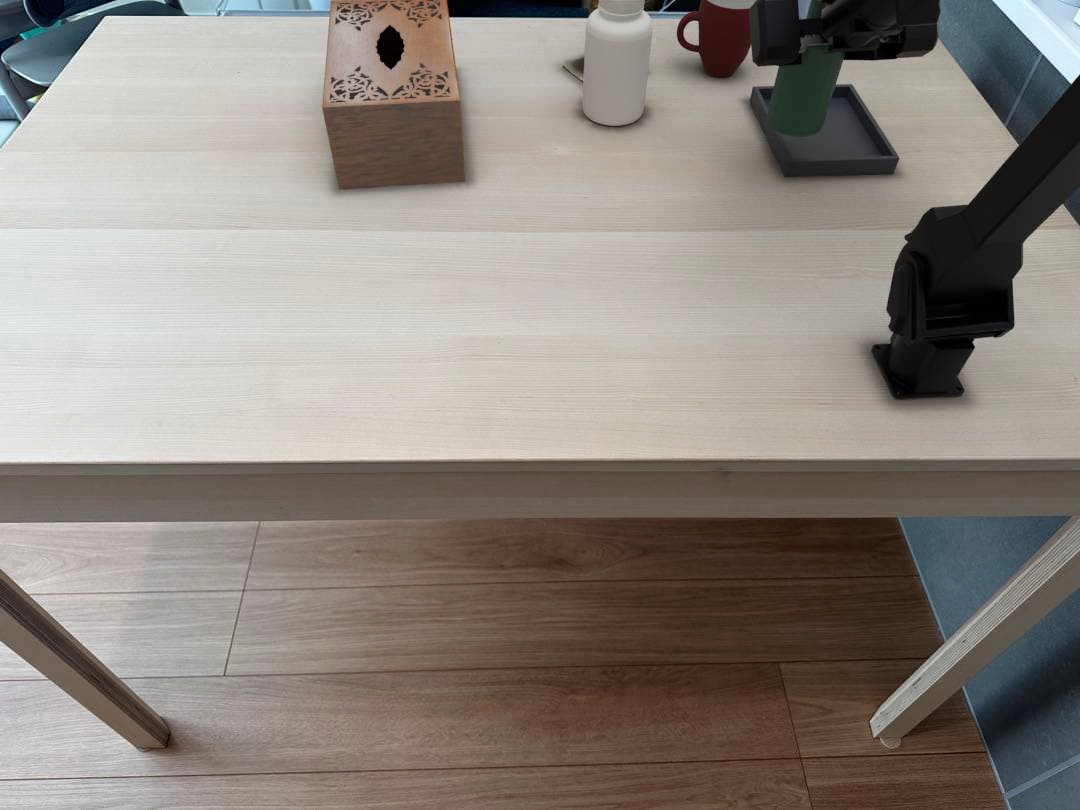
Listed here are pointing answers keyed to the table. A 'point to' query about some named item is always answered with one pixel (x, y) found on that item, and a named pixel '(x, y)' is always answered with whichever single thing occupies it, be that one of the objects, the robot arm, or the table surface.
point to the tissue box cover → (392, 94)
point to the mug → (720, 34)
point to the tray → (830, 139)
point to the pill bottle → (616, 62)
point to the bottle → (805, 88)
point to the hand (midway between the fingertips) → (806, 56)
